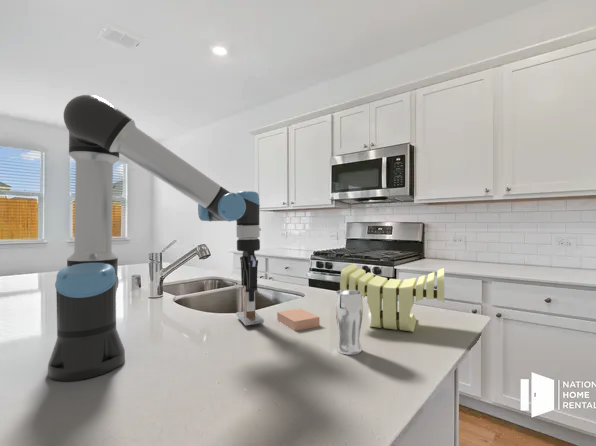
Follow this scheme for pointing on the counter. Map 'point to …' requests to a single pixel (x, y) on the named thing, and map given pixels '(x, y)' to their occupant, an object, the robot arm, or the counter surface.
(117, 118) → the robot arm
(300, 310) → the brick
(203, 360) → the counter surface
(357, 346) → the beer glass
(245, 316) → the trowel
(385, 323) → the slatted curved stool
